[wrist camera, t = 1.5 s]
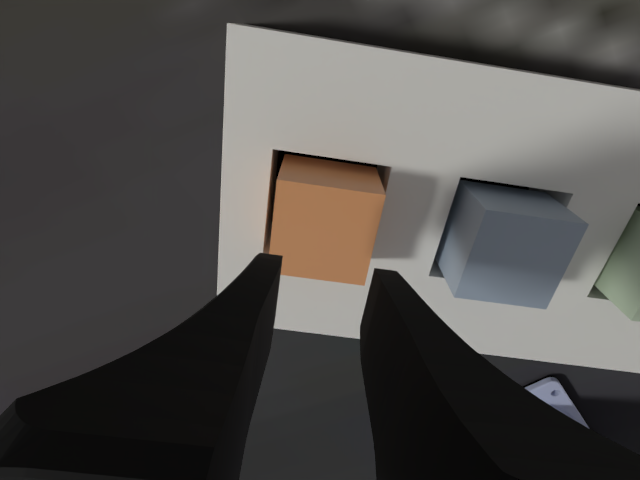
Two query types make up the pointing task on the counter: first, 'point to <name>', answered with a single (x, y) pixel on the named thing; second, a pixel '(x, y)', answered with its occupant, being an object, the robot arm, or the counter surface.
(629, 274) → the sage green button
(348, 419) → the counter surface
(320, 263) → the terracotta button
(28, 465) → the robot arm
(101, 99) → the counter surface
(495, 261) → the slate blue button
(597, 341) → the button panel
